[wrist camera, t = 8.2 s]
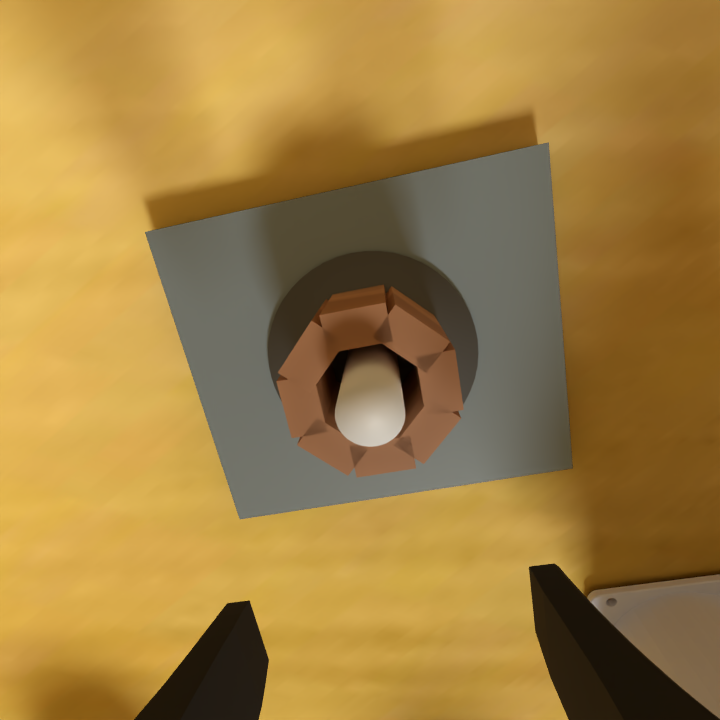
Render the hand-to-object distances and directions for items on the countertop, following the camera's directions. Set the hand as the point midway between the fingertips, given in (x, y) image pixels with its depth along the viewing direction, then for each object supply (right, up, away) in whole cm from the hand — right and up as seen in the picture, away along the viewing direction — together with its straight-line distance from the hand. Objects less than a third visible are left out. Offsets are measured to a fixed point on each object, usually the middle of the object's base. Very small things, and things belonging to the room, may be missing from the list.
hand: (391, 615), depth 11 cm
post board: (0, +7, +8) cm, 10 cm away
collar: (0, +7, +6) cm, 9 cm away
